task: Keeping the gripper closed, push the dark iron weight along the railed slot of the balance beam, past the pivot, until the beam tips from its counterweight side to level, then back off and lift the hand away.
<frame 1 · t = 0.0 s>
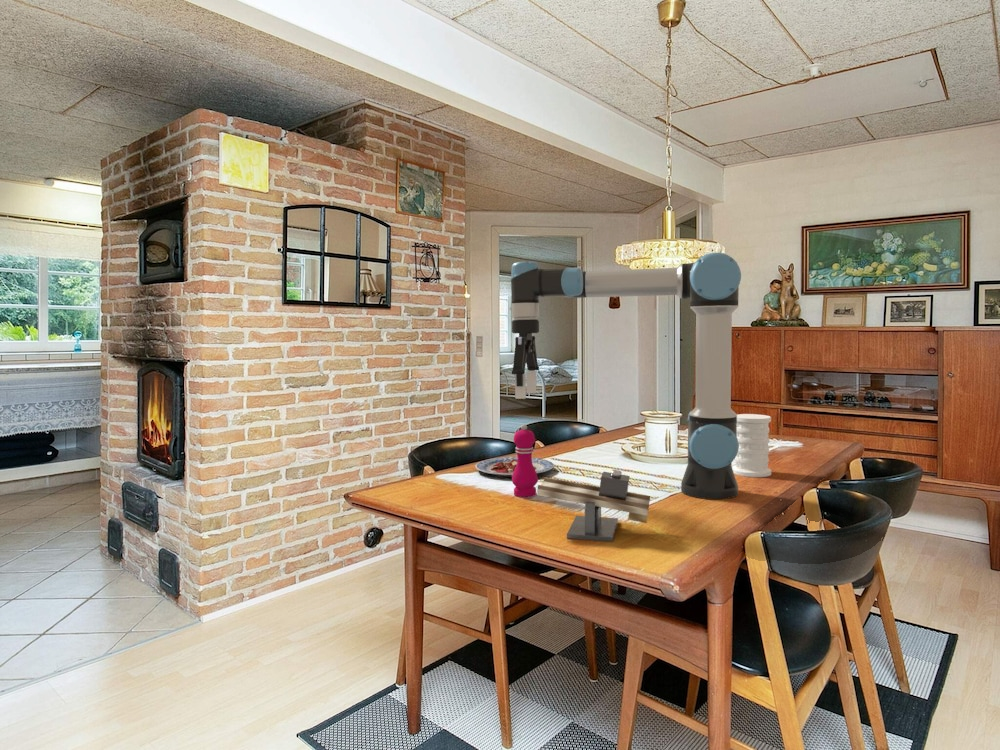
hand: (526, 395, 176), 28 cm above the table, fingers open, 13 cm apart
decorative container: (751, 473, 200), on the table
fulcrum: (593, 530, 147), on the table
ceramic plate: (514, 472, 208), on the table
pepper mill: (525, 495, 179), on the table
beam: (593, 499, 146), point 7 cm above the table, hinge at -7.4°, touching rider
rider: (612, 497, 145), point 8 cm above the table, tilted 7°, touching beam
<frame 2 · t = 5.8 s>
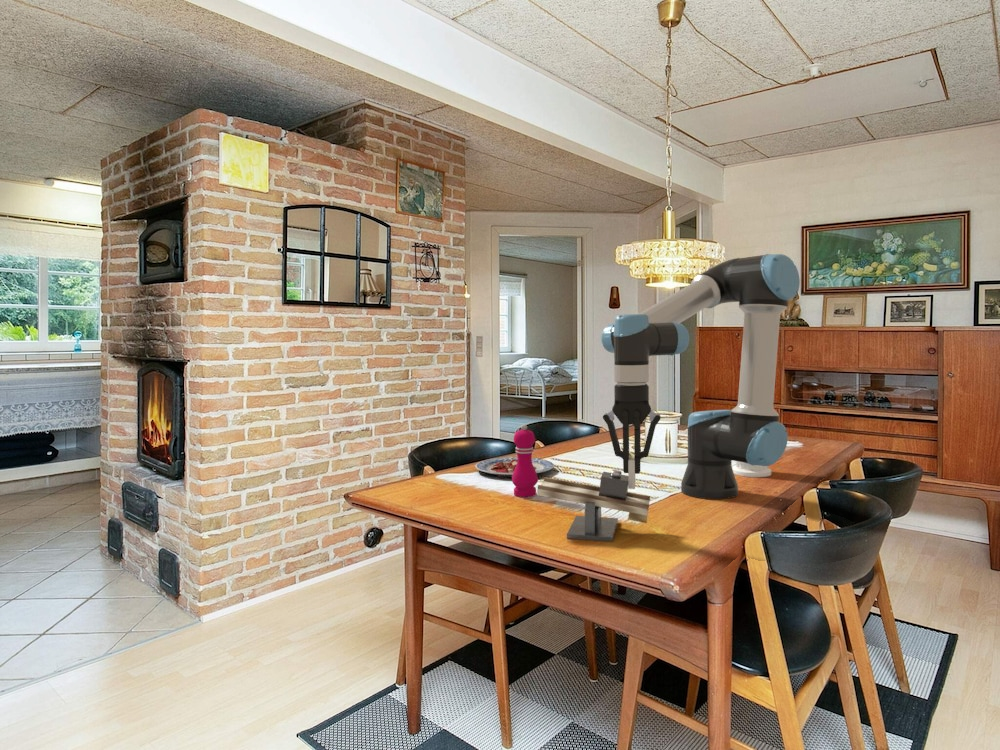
hand: (631, 487, 143), 11 cm above the table, fingers closed
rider: (612, 497, 145), point 8 cm above the table, tilted 7°, touching beam, gripper
everything else where it was.
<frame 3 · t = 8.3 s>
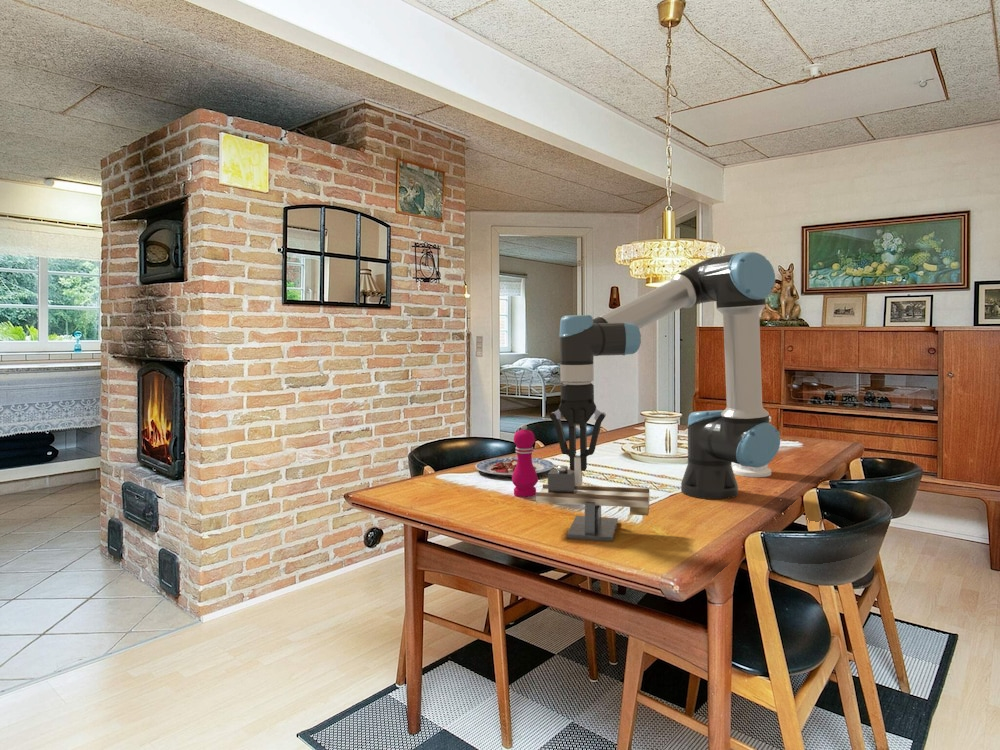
hand: (578, 484, 147), 11 cm above the table, fingers closed
beam: (593, 499, 146), point 7 cm above the table, hinge at 0.7°
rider: (562, 492, 148), point 8 cm above the table, touching gripper
everything else where it was.
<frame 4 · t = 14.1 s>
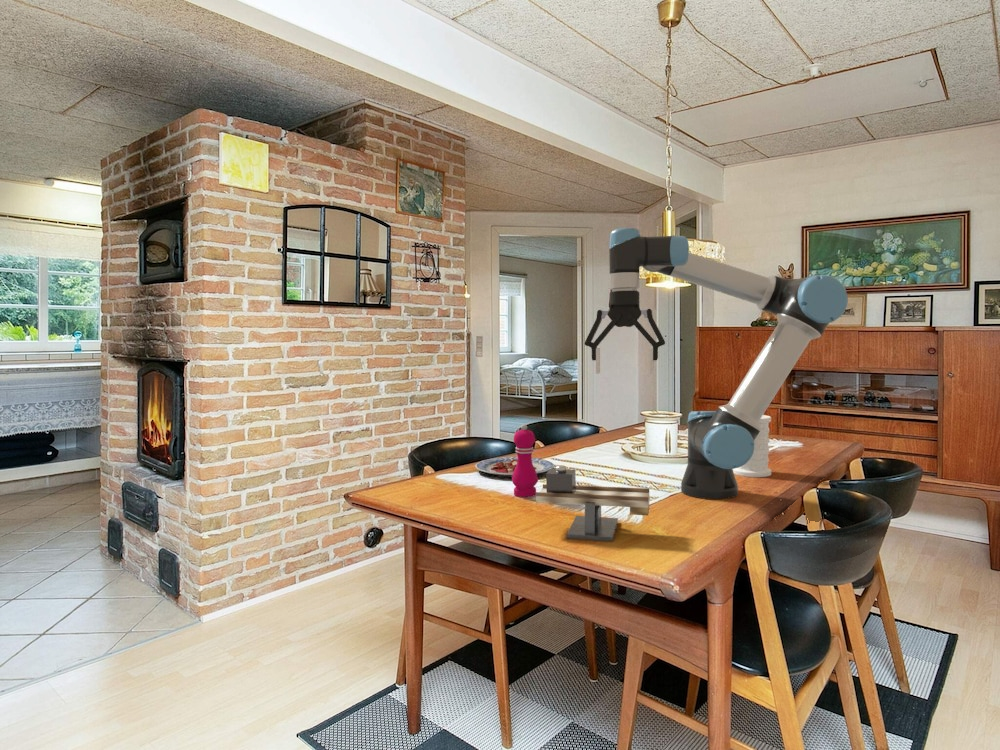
hand: (624, 373, 164), 35 cm above the table, fingers open, 13 cm apart
beam: (593, 499, 146), point 7 cm above the table, hinge at 0.7°, touching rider
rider: (561, 492, 148), point 8 cm above the table, touching beam
everything else where it was.
at the end: beam at +1° (first picture: -7°); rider inside the target area on the beam (0.6 cm from its centre), point 1.4 cm above the beam's base; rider tilted 1° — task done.
